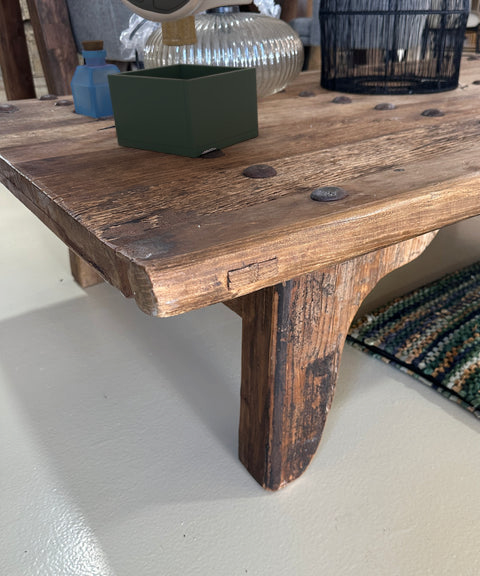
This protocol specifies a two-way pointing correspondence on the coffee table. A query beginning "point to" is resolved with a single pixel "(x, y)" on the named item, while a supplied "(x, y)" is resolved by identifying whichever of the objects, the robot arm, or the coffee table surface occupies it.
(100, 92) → the perfume bottle
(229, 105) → the square planter pot
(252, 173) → the coffee table surface
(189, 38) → the sprinkles bottle
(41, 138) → the coffee table surface
